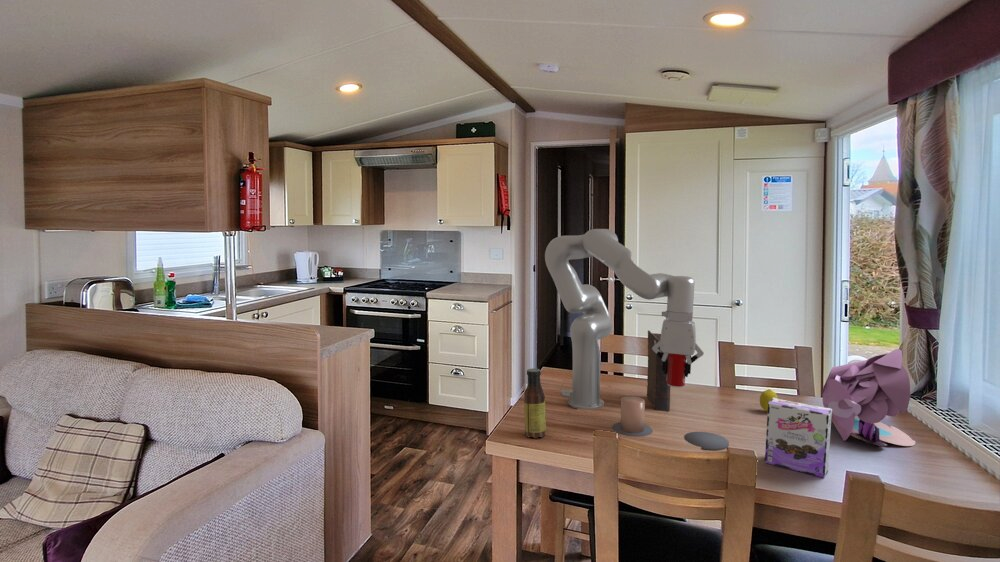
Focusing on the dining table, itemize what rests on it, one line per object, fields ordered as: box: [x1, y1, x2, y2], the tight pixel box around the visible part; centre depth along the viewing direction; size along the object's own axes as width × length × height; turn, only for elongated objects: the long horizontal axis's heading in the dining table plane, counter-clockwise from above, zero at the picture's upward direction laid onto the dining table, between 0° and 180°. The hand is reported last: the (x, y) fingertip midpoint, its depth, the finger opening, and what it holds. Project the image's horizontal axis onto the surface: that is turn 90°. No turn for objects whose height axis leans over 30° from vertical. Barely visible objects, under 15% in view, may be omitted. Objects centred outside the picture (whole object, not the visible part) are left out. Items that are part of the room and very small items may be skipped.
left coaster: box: [611, 421, 654, 438], centre depth 161 cm, size 12×12×1 cm
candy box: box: [764, 398, 832, 478], centre depth 136 cm, size 14×6×16 cm, turn 50°
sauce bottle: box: [523, 367, 547, 439], centre depth 157 cm, size 6×6×20 cm
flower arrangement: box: [820, 348, 916, 447], centre depth 156 cm, size 35×24×28 cm
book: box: [646, 330, 671, 412], centre depth 184 cm, size 17×7×25 cm, turn 167°
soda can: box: [666, 354, 687, 389], centre depth 163 cm, size 6×6×12 cm
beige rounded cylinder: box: [620, 395, 646, 433], centre depth 161 cm, size 7×7×9 cm
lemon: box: [759, 388, 779, 413], centre depth 176 cm, size 6×6×8 cm
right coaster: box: [683, 431, 730, 451], centre depth 153 cm, size 12×12×1 cm
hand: (676, 373), depth 163 cm, fingers closed on soda can, 5 cm apart
